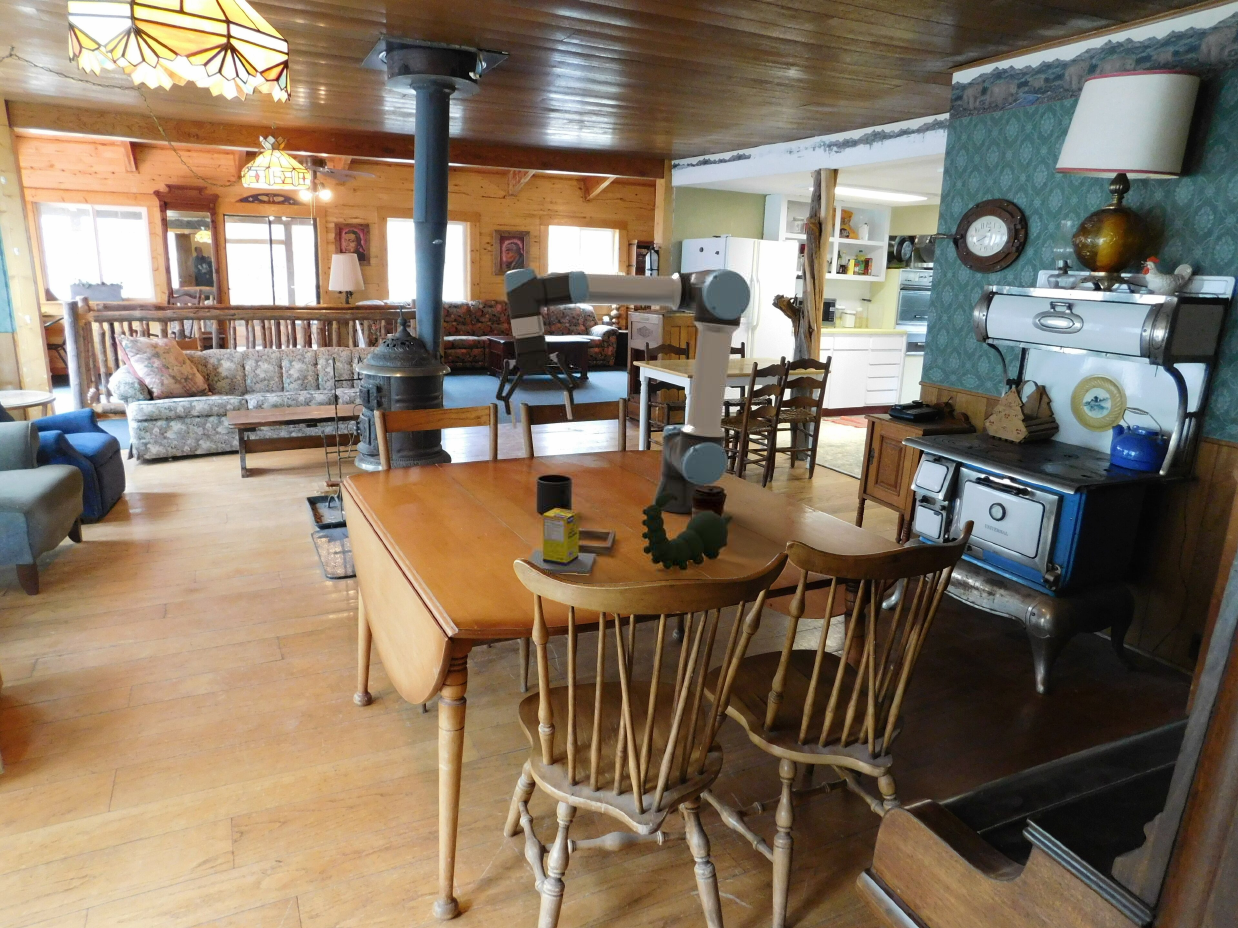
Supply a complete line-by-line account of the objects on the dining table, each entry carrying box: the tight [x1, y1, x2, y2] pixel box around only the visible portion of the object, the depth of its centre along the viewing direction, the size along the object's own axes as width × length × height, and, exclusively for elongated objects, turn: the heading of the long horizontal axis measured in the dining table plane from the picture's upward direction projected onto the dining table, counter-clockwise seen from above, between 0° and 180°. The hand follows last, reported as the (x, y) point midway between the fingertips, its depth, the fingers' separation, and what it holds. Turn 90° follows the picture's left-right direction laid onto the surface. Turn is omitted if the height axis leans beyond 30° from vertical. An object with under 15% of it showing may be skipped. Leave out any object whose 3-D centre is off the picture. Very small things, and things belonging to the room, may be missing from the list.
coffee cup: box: [691, 484, 727, 518], centre depth 193 cm, size 9×8×13 cm
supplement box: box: [542, 508, 580, 566], centre depth 173 cm, size 6×6×11 cm
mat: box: [528, 549, 597, 575], centre depth 174 cm, size 14×11×1 cm
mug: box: [536, 474, 573, 515], centre depth 212 cm, size 9×12×9 cm
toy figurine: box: [641, 492, 733, 571], centre depth 176 cm, size 9×19×25 cm
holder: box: [578, 528, 616, 556], centre depth 187 cm, size 12×12×2 cm
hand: (542, 423), depth 193 cm, fingers open, 13 cm apart
